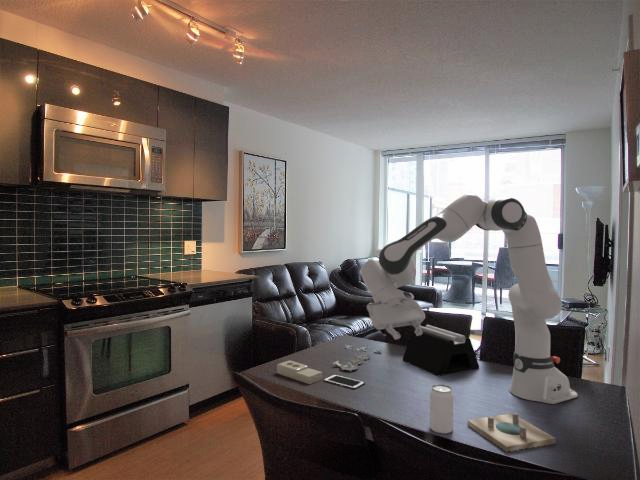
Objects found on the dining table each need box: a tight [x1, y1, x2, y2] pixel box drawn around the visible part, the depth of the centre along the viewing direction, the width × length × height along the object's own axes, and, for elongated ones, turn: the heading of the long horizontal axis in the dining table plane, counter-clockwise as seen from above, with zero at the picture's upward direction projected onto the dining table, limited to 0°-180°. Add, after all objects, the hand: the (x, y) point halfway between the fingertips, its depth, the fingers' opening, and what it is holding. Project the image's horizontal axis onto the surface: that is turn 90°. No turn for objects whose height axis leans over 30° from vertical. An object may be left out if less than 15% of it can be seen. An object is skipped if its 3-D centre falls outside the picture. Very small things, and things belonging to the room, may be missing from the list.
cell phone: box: [322, 374, 366, 391], centre depth 158 cm, size 8×15×1 cm, turn 53°
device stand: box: [402, 324, 480, 377], centre depth 181 cm, size 22×22×15 cm
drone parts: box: [332, 343, 384, 373], centre depth 190 cm, size 23×35×3 cm, turn 148°
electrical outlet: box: [276, 360, 323, 385], centre depth 165 cm, size 7×4×18 cm
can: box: [429, 384, 454, 435], centre depth 121 cm, size 6×6×12 cm
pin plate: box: [467, 412, 556, 453], centre depth 119 cm, size 16×16×4 cm
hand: (409, 336), depth 132 cm, fingers open, 8 cm apart
